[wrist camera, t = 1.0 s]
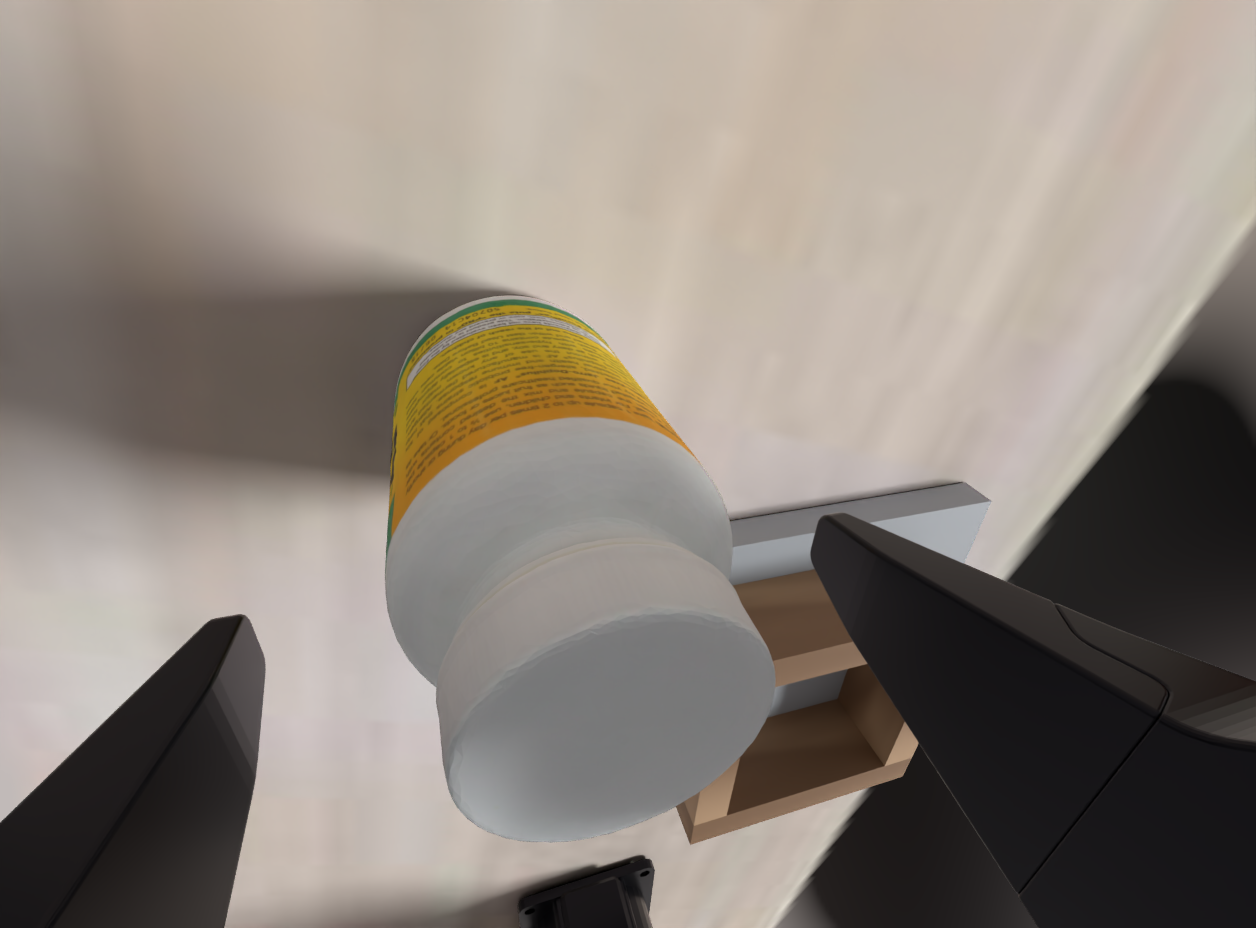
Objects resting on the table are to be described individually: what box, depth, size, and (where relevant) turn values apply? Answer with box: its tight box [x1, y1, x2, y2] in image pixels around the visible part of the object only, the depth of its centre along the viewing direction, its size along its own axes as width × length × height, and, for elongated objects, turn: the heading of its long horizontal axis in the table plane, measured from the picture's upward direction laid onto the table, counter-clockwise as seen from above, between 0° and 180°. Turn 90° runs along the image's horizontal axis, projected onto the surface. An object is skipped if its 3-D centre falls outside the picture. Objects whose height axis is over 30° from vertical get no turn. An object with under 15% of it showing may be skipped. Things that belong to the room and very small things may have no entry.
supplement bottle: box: [385, 295, 776, 842], centre depth 11 cm, size 5×5×10 cm
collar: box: [676, 569, 918, 845], centre depth 21 cm, size 9×9×3 cm
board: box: [729, 483, 991, 718], centre depth 22 cm, size 12×14×1 cm
